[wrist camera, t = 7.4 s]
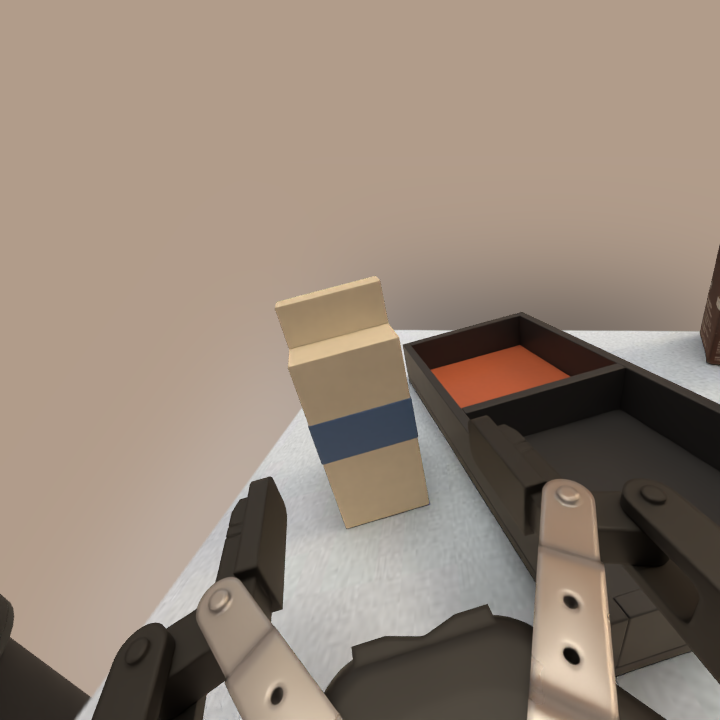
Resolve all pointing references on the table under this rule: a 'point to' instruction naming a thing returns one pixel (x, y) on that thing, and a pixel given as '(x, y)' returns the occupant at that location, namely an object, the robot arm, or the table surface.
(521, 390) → the organiser
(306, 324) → the milk carton
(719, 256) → the box
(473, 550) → the table surface
